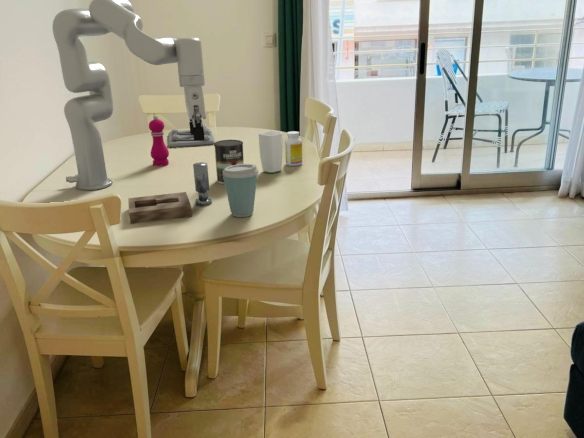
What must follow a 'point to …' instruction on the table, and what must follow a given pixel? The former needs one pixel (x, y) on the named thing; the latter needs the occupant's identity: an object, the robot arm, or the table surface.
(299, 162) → the supplement bottle
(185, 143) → the grey piece
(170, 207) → the keyhole plate
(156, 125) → the pepper mill
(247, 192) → the disposable coffee cup
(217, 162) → the coffee can
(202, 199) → the peg
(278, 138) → the cup
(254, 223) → the table surface
